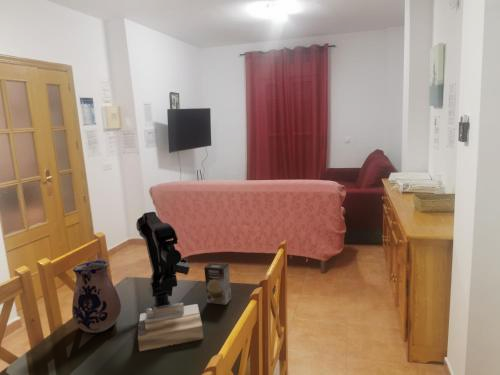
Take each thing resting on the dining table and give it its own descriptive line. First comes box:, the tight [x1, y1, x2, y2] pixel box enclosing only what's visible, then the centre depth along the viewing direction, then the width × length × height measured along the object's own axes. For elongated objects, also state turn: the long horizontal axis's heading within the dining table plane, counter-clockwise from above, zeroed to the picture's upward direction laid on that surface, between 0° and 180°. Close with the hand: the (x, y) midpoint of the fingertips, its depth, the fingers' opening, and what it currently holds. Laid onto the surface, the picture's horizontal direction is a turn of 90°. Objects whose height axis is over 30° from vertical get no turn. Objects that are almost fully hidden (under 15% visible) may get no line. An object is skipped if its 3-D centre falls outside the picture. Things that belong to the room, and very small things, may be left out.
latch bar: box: [144, 302, 185, 319], centre depth 145 cm, size 14×3×3 cm, turn 103°
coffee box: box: [203, 261, 232, 306], centre depth 164 cm, size 9×6×16 cm
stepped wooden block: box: [137, 313, 204, 352], centre depth 138 cm, size 10×22×8 cm, turn 103°
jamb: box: [139, 303, 200, 323], centre depth 147 cm, size 8×22×5 cm, turn 103°
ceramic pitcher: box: [71, 258, 122, 334], centre depth 150 cm, size 18×21×25 cm
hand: (170, 295), depth 150 cm, fingers closed
